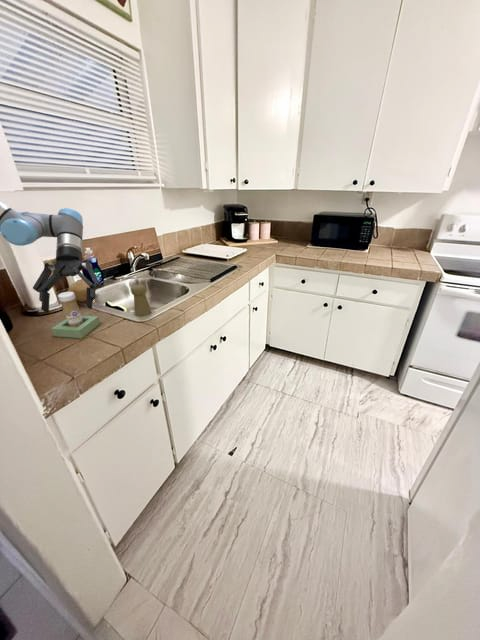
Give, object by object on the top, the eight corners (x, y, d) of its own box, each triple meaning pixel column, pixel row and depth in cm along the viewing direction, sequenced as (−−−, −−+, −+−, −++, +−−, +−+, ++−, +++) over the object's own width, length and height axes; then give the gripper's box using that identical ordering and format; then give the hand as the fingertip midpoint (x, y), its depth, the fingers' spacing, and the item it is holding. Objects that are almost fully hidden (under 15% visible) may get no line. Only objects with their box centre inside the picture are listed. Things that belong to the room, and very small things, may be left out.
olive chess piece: (134, 310, 103) (128, 284, 98) (150, 307, 106) (145, 282, 100) (135, 316, 99) (129, 289, 93) (151, 314, 101) (147, 287, 95)
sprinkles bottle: (76, 334, 87) (63, 297, 81) (67, 331, 89) (54, 295, 83) (88, 328, 91) (77, 292, 85) (79, 325, 93) (68, 290, 86)
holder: (54, 336, 86) (51, 328, 85) (75, 322, 95) (72, 314, 94) (81, 338, 85) (79, 330, 84) (100, 323, 94) (98, 316, 92)
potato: (66, 307, 106) (60, 289, 102) (76, 295, 118) (71, 278, 114) (92, 305, 108) (87, 287, 104) (99, 293, 120) (95, 276, 116)
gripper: (110, 254, 95) (111, 309, 89) (36, 258, 91) (31, 316, 85) (103, 243, 88) (104, 301, 82) (22, 246, 84) (16, 308, 78)
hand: (67, 309), depth 84 cm, fingers open, 12 cm apart
